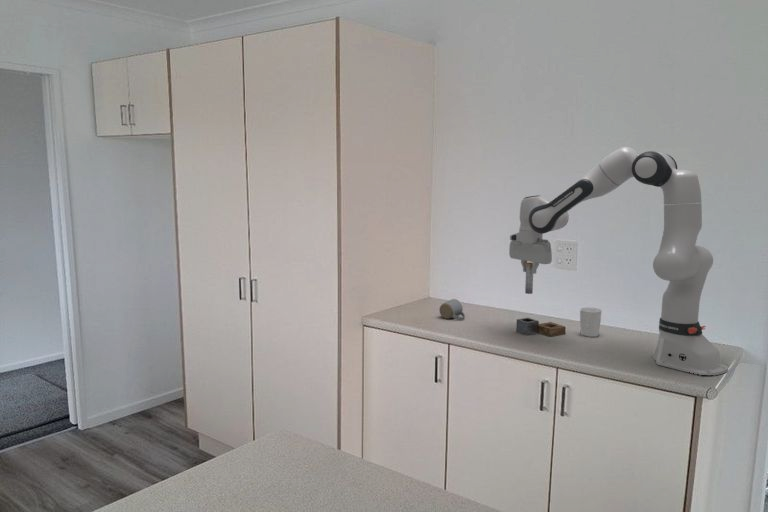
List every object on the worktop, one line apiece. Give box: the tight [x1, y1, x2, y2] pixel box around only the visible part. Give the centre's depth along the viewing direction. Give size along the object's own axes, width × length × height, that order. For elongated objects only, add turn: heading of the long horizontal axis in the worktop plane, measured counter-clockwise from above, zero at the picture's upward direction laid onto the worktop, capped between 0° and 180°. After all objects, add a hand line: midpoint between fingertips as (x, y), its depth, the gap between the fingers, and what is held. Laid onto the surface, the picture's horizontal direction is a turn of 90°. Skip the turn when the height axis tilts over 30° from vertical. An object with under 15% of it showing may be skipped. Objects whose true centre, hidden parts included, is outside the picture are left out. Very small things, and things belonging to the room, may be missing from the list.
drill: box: [524, 261, 534, 295], centre depth 230 cm, size 3×3×12 cm
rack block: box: [537, 321, 567, 338], centre depth 232 cm, size 8×8×3 cm
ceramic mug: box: [438, 298, 466, 321], centre depth 255 cm, size 11×8×8 cm
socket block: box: [515, 317, 540, 336], centre depth 233 cm, size 6×6×5 cm
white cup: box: [579, 306, 602, 338], centre depth 230 cm, size 8×8×10 cm
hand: (529, 272), depth 230 cm, fingers closed on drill, 3 cm apart
